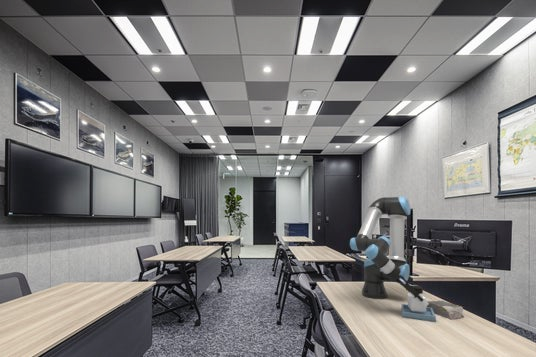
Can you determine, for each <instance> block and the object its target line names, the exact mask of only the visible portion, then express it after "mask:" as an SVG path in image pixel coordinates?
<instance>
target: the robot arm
mask: <svg viewBox="0 0 536 357" xmlns="http://www.w3.org/2000/svg"><path fill="white" fill-rule="evenodd" d="M384 215H387V218H388V219H389V238H388V237H386V236H384V235H383V236H382V235H381V236H379V237H378V238H371V237H372V236H373V232H374V230H375V229H376V226H377V224H378V221H379V219H380V218H381V217H382V216H384ZM409 215H411V205H410V202H409V199H408V198H407V197H405V196H392V197H389V196H387V197H383V196H382V197H380V198H377V199H375V200H374V201H373V202H372V203H371V204H370V205H369V206H368V208H367V214H366V216H365V219H364V220H363V222H362V225H361V227H360V229H359V232H358V233H357V235H356V237H352V238H350V240H349V247H350V248H351V250H353V251H356V252H364V254H365V256H366V257H367V258H366V259H365V260H364V262H363V269H364V270H363V271H364V273H363V274H364V283H363V286H362V289H361V290H362V291H361V295H362V296H363V297H366V298H369V299H377V300H378V299H379V300H381V299H382V300H383V299H387V298H388V292H387V289H386V287H385V283H384V282H385V281H386V282H391V283H397V284H400V286H402V287H403V288H404V289H405V291H407V292H408V293H410V292H411V293H412V294H413V295H414V298H416V299H417V300H418V301H419V302H420V303H421V304H422V305H423V306H424V307H427V305H428V304H429V303H428V302H427V299H426V300H425V299H424V298H423V297H422V296H421V295H420V294H419V293H418V292H417V291H416V290H415V289H414V288H413V287H412V286H411V285H412V284H410V283H409V282H408V279H409V278H410V274H411V273H410V265H409V264H408V263H407V260H406V259H405V257H404V256H405V220H406V219H408V216H409ZM387 253H388V256H387Z"/></svg>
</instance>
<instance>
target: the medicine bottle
mask: <svg viewBox="0 0 536 357" xmlns="http://www.w3.org/2000/svg"><path fill="white" fill-rule="evenodd" d="M410 285H411V286H412V287H413V288H414V289H415V290H416V291H417V292H418V293H419V294H420V295H421V296H422V297H423V298H424V299H425V300H426V301H427V297H425V296H424V293H423V292H424V289H423V287H422V286H421V285H416V284H410ZM407 305H408V307H409V308H410V309H411V311H417V312H427V310H426V307H427V306H426V307H424V306H423V305H422V304H421V303H420V302H419V301H418V300H417V299H416V298H414V295H413V294H412V293H411V292H408V293H407Z"/></svg>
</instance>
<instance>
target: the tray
mask: <svg viewBox="0 0 536 357" xmlns="http://www.w3.org/2000/svg"><path fill="white" fill-rule="evenodd" d="M400 307H401V317H402V318H405V319H412V320H418V321H419V320H420V321H423V322H424V321H425V322H432V323H437V318H436V314H434V311H433V309H432V308H430V307H427V306H426V310H427V312H417V311H411V309H410V308H409V307H408V304H405V303H401V306H400Z"/></svg>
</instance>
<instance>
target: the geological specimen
mask: <svg viewBox="0 0 536 357" xmlns="http://www.w3.org/2000/svg"><path fill="white" fill-rule="evenodd" d="M426 301H427V300H426ZM427 302H428V303H429V304H428V305H427V306H426V307H430V308H432V309H433V311H434V314H435V315H438V316H440V317H442V318H444V319H448V320H452V321H453V320H454V321H455V320H459V319H463V318H464V314H463V312H464V308H463V306H461V305H457V304H454V303H451V302H448V301H444V300H428V301H427Z"/></svg>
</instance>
